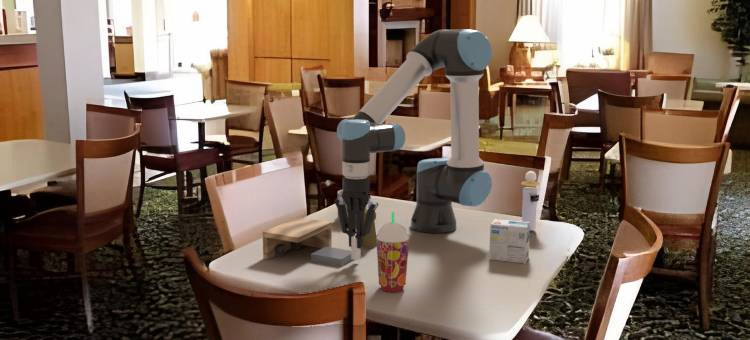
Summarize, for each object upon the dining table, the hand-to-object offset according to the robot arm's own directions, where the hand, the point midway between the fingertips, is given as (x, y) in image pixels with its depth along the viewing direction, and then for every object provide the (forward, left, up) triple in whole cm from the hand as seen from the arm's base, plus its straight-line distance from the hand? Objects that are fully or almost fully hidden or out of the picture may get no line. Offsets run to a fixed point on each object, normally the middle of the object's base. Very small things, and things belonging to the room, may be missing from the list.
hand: (355, 258), depth 202 cm
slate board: (+7, 0, -2) cm, 8 cm away
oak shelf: (+19, 0, -1) cm, 19 cm away
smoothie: (-18, +13, -2) cm, 22 cm away
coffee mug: (+24, -41, -2) cm, 48 cm away
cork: (+5, -17, -2) cm, 18 cm away
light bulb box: (-37, -25, -2) cm, 44 cm away
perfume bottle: (-34, -56, -2) cm, 65 cm away
